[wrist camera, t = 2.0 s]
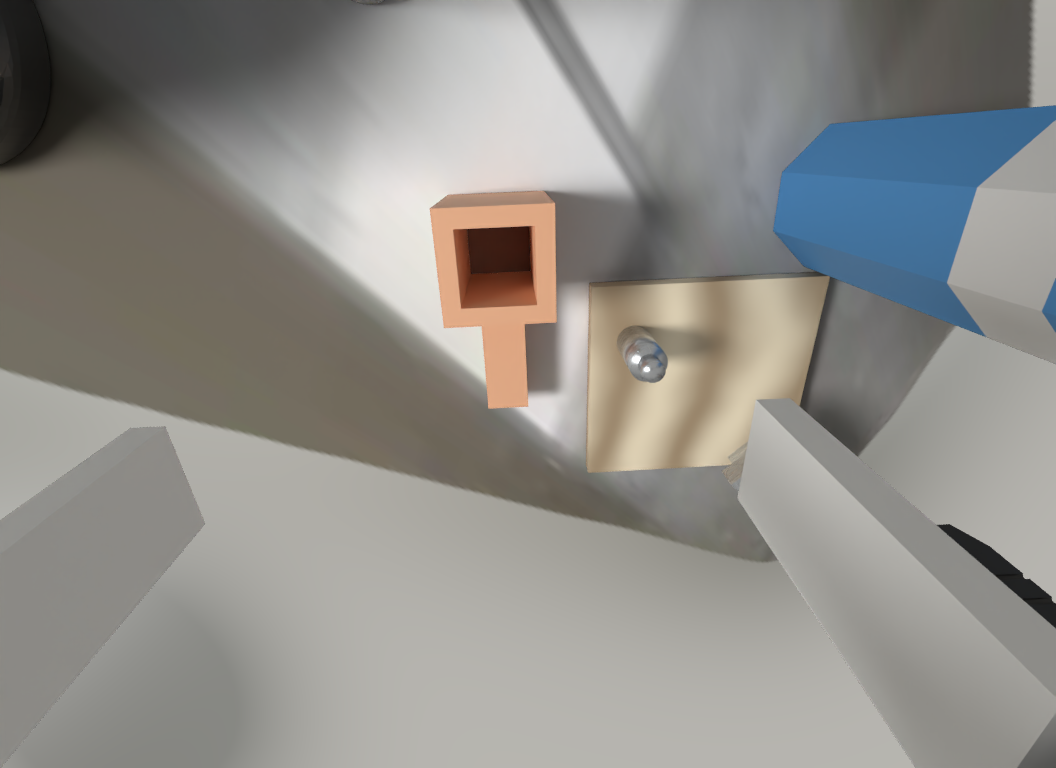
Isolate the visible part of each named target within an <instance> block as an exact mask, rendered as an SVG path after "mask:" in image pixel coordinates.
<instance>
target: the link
mask: <svg viewBox="0 0 1056 768" xmlns="http://www.w3.org/2000/svg"><path fill="white" fill-rule="evenodd" d="M430 215H431V223H432V232H433V240H434V248H435V257H436V265H437V273H438V282H439V290H440V298H441V307H442V315H443V323H444V328H454V327H474V326H482V335H483V347H484V359H485V371H486V383H487V395H488V407H489V409H490V408H509V407H528V391H527V368H526V345H525V324H535V323H555V322H557V317H556V237H555V202H554V201H553V200H552V199H551V198H550V197H549V196H548V195H547V194H546V193H545V192H544V191H527V192H504V193H481V194H458V195H447V196H446V197H445V198H443V199H442V200H441V201H439V202H438V203H437V204H435V205H434V206H433V207H431V208H430ZM518 226H529V243H530V271H521V272H500V273H478V274H471V267H470V256H469V244H468V233H467V229H474V228H496V227H518Z"/></svg>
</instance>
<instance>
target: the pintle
mask: <svg viewBox="0 0 1056 768" xmlns="http://www.w3.org/2000/svg"><path fill="white" fill-rule="evenodd" d="M617 348H618V350H619V352H620V354H621V356H622V358H623V359H624V361H625V363H626V365H627V366H628V368H629V370H630V372H631V374H632V375H633V376H634V377H635V378H636V379H637V380H639V381H643V382H650V383H656V382H659V381H660V380H662V379H663V377H664V376H665V373H666V369H667V366H668V358H667V355H666V354H665V352H664V351H663V350H662V348H661V347H660V346H659V345H658V343H657V342H656V341H655V340H654V338H653V337H652V336H651V334H650V333H649V332H648V331H647V330H646V329H645V328H644V327H642V326H637V325H634V326H629V327H627V328H625V329H624V330H623V331H622V332H621V333H620V334H619V336H618V338H617Z"/></svg>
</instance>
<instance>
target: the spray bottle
mask: <svg viewBox="0 0 1056 768" xmlns="http://www.w3.org/2000/svg"><path fill="white" fill-rule="evenodd" d="M352 1H354V2H358V3H362V4H375V3H380V2H382V1H384V0H352Z"/></svg>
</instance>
